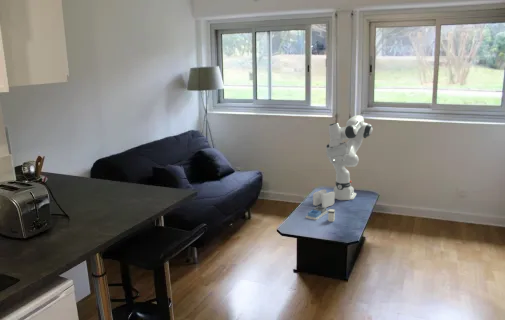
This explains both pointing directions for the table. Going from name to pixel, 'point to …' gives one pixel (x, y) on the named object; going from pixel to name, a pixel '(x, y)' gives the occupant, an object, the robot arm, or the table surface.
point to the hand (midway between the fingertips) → (338, 162)
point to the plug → (331, 215)
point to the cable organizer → (323, 198)
